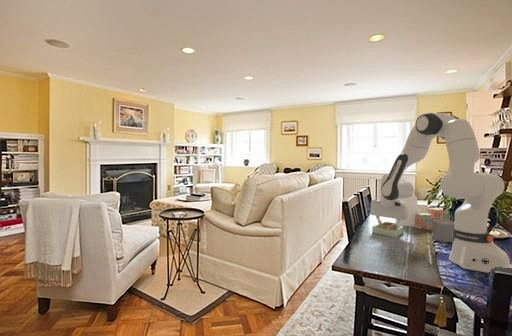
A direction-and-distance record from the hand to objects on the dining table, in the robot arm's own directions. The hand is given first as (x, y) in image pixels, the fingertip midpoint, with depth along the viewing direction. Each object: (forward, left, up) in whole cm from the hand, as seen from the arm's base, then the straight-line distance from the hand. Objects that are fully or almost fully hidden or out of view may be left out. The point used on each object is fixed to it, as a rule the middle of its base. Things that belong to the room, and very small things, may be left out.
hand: (387, 224), depth 166 cm
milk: (-1, -32, -5) cm, 32 cm away
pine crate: (0, 0, -4) cm, 4 cm away
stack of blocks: (-16, -33, -6) cm, 37 cm away
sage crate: (0, 0, -5) cm, 5 cm away
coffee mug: (-28, -9, -5) cm, 30 cm away
